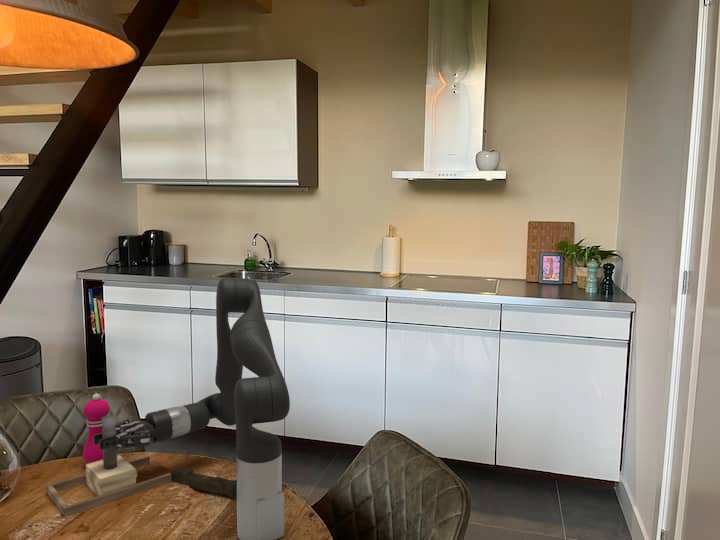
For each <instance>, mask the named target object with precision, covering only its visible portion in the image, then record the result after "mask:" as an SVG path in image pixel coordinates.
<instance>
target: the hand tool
mask: <svg viewBox="0 0 720 540" xmlns="http://www.w3.org/2000/svg"><path fill="white" fill-rule="evenodd" d="M170 474H172V482H174V483H178V484H181V485H185V486H188V487H189V488H190V489H195V490H199V491H204V492H205V491H206V492H210V493H212V494H213V493H214V494H218V495H222V496H228V497H230V498H231V500H234V499H235V498H236V499H237V479H234V480H231V479H227V478H223V477H220V476H217V477H215V476H210V475H205V474H200V473H197V472H194V469H191V468H186V467H181V466H179V467H178V466H175V467H174V468H172V469H171V471H170Z"/></svg>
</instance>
